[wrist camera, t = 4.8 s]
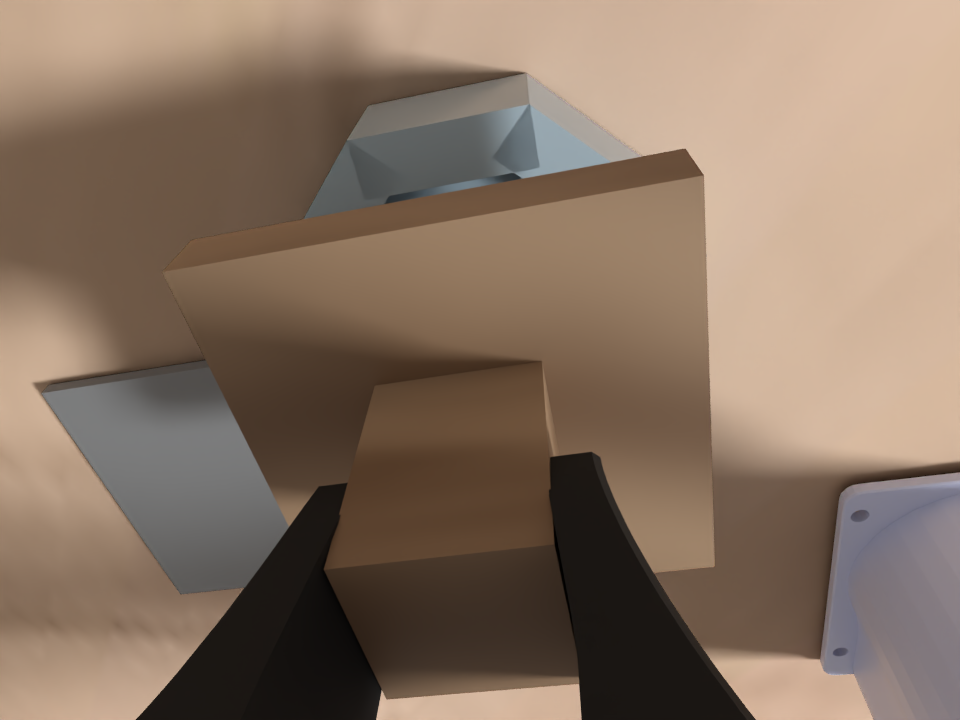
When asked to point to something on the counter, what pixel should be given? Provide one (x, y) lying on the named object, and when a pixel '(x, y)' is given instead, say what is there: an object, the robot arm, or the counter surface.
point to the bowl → (462, 144)
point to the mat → (176, 470)
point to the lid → (472, 398)
